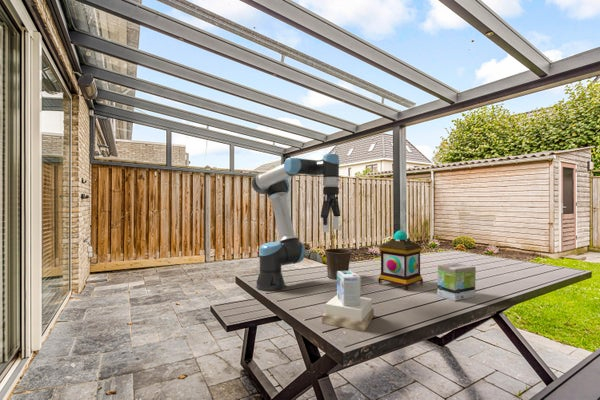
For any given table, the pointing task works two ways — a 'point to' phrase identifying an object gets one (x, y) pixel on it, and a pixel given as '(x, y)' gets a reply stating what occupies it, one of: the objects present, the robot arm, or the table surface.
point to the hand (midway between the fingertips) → (330, 230)
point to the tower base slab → (348, 321)
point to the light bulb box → (348, 288)
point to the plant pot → (337, 261)
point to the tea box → (456, 281)
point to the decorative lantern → (400, 261)
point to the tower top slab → (348, 309)
